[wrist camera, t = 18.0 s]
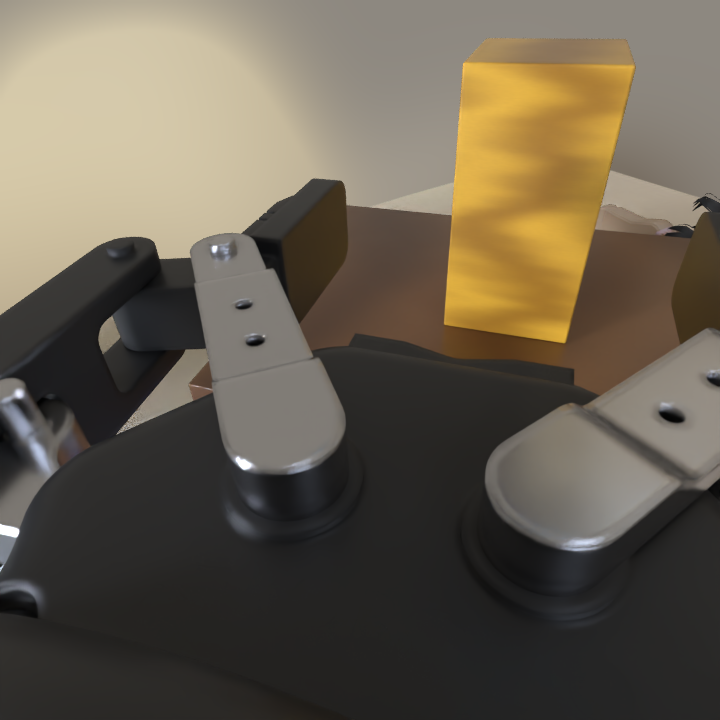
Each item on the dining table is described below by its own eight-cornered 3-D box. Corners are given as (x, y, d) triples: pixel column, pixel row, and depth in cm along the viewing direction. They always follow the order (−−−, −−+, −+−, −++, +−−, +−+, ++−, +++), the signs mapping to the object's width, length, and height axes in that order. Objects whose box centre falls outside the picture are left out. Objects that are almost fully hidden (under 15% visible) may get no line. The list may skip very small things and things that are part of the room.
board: (196, 412, 21) (187, 383, 20) (347, 226, 35) (345, 204, 34) (854, 561, 15) (884, 531, 14) (731, 268, 29) (742, 242, 28)
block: (443, 325, 23) (462, 62, 17) (463, 270, 26) (485, 38, 20) (566, 344, 21) (636, 65, 15) (569, 283, 25) (627, 38, 19)
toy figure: (563, 255, 46) (760, 320, 36) (581, 180, 42) (803, 229, 33) (605, 239, 50) (793, 293, 40) (625, 169, 46) (835, 210, 37)
